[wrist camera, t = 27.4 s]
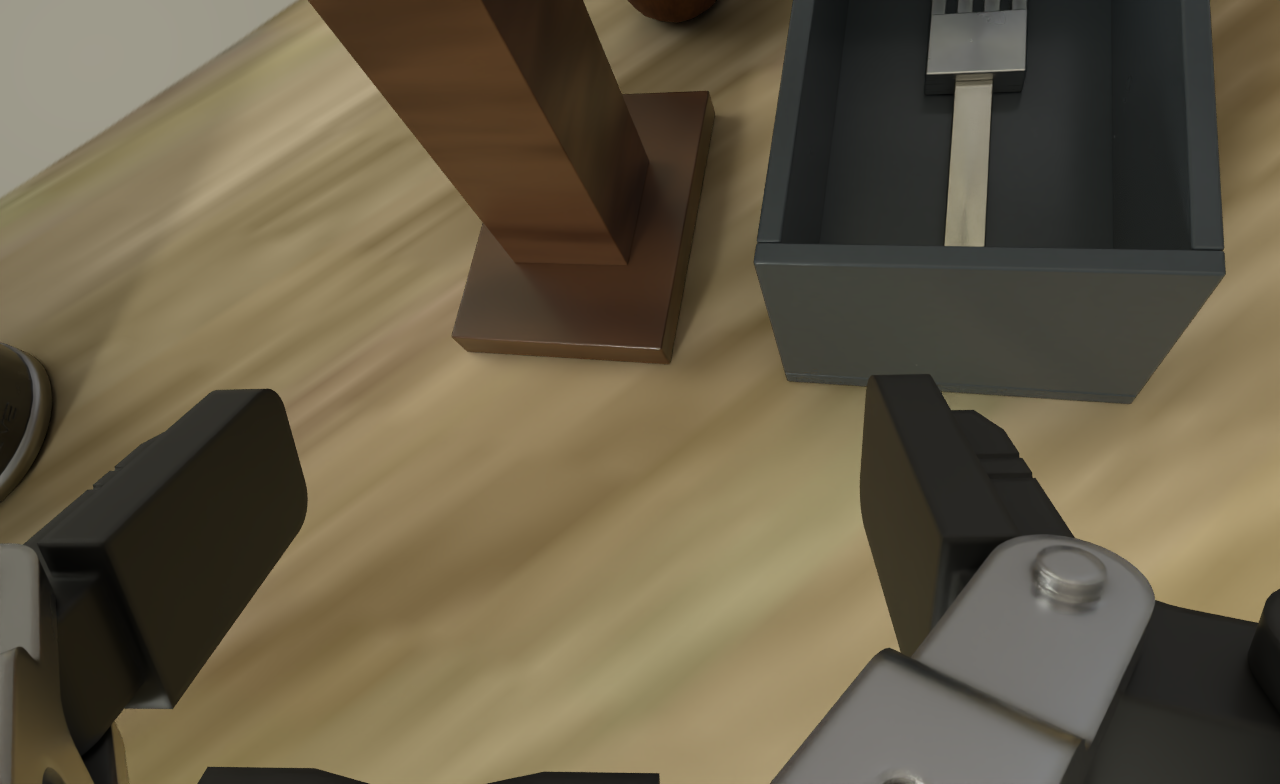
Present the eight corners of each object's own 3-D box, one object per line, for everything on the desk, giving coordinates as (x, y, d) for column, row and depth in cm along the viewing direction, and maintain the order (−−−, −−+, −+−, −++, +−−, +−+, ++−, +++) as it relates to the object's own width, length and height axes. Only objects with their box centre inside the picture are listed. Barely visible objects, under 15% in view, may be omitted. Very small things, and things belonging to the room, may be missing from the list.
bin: (1131, 404, 28) (1226, 275, 20) (786, 381, 31) (752, 263, 24) (1123, -92, 35) (1191, -330, 27) (844, -66, 39) (832, -270, 31)
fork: (1012, 354, 29) (1017, 339, 28) (902, 348, 30) (903, 333, 29) (1028, -64, 35) (1032, -90, 34) (936, -57, 36) (937, -81, 35)
